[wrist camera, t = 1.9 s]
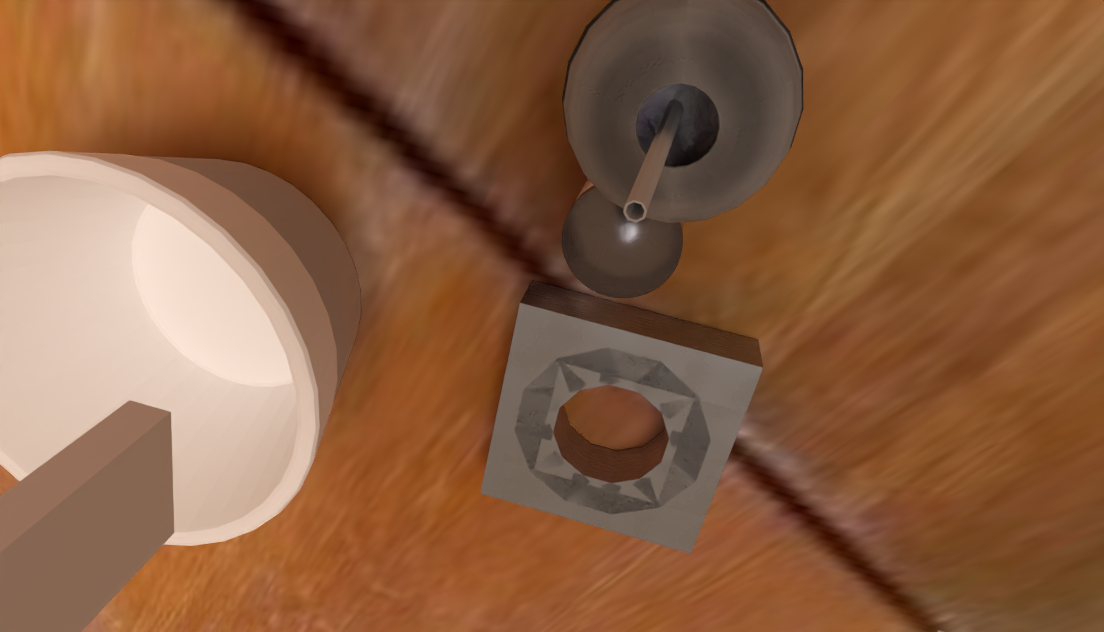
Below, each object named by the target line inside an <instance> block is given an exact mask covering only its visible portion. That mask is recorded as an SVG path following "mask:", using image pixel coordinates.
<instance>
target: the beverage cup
mask: <svg viewBox="0 0 1104 632" xmlns="http://www.w3.org/2000/svg"><path fill="white" fill-rule="evenodd" d="M562 103H563V110H564V118H565V126H566V133H567V137H568V141H569V143H570V145H571V147H572V149H573V152H574V154H575V156H576V158H577V160H578V162H579V165H580V167H581V169H582V171H583V173H584V175H585V176H586V177H587V178H588V179H589V180H590V181H591V182H592V183H593V184H594V186H595V187H596V188H597V189H598V190H599V191H600V192H601V193H602V194H603V195H604V196H605V198H606V199H608V200H609V201H611V202H613V203H615V204H616V205H618V206H620V207H622V208H623V209H624V211H623V213H624V215H625V216H626V218H627V220H629V221H633V222H636V223H637V222H639V221H641V220H643V219H645V218H648V219H653V220H658V221H662V222H667V223H676V222H688V221H700V220H706V219H708V218H711V217H713V216H716V215H718V214H721V213H723V212H726V211H728V210H731V209H733V208H736V207H738V206H739V205H740V204H741V203H743V202H744V201H745V200H746V199H748V198H749V197H750V196H751V195H753V194H754V193H755V192H757V191H758V190H759V189H760V188H762V187H763V186H764V185H765V184H766V183H767V182H768V180H769V179H770V177H771V176H772V174H773V173H774V172H775V170H776V169H777V167H778V166H779V164H780V163H781V161H782V160H783V159H784V157H785V156H786V154H787V153H788V151H789V149H790V148H791V146H792V143H793V140H794V136H795V133H796V130H797V127H798V124H799V121H800V117H801V114H802V111H803V68H802V65H801V62H800V59H799V56H798V53H797V51H796V48H795V45H794V42H793V39H792V36H791V33H790V31H789V30H788V28H787V27H786V26H785V25H784V24H783V22H782V21H781V20H780V19H779V17H778V16H777V15H776V14H775V12H774V11H773V10H772V9H771V7H770V6H769V5H768V4H767V2H766V1H765V0H612V1H611V2H610V3H609V4H608V5H607V6H606V7H605V8H604V9H603V10H602V11H601V12H600V13H599V14H598V15H597V16H596V17H595V18H594V19H593V20H592V21H591V22H590V23H589V24H588V25H587V26H586V28H585V30H584V32H583V34H582V36H581V38H580V40H579V42H578V44H577V46H576V48H575V50H574V52H573V54H572V55H571V57H570V59H569V62H568V67H567V73H566V79H565V85H564V91H563V96H562Z"/></svg>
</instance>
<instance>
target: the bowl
mask: <svg viewBox="0 0 1104 632" xmlns="http://www.w3.org/2000/svg"><path fill="white" fill-rule="evenodd" d="M360 317H361V291H360V287H359V282H358V277H357V273H356V268H355V266H354V263H353V261H352V259H351V256H350V254H349V251H348V249H347V247H346V244H345V243H344V241H343V240H342V238H341V236H340V235H339V233H338V232H337V230H336V229H335V227H334V225H333V224H332V222H331V221H330V220H329V219H328V218H327V217H326V216H325V214H324V213H323V212H322V211H321V210H320V209H319V208H318V207H317V205H316V204H315V203H314V202H313V201H312V200H310V199H309V198H308V197H307V196H305V195H304V194H303V193H302V192H301V191H299V190H298V189H297V188H296V187H294V186H293V185H292V184H290V183H288V182H286V181H285V180H283V179H281V178H279V177H278V176H276V175H274V174H272V173H270V172H269V171H266V170H263V169H260V168H257V167H254V166H252V165H249V164H246V163H241V162H234V161H227V160H220V159H203V158H180V157H157V156H134V155H127V154H110V153H88V152H65V151H41V152H28V153H15V154H8V155H5V156H2V157H0V464H1V465H2V466H3V467H4V468H5V469H6V470H7V471H8V472H10V473H11V474H12V475H13V476H14V477H15V478H16V479H17V480H19V481H21V480H22V479H24V478H25V477H26V476H28V475H29V474H30V473H32V472H33V471H34V470H36V469H37V468H38V467H40V466H41V465H43V464H44V463H45V462H47V461H48V460H49V459H51V458H52V457H53V456H55V455H56V454H57V453H59V452H60V451H61V450H63V449H64V448H65V447H67V446H68V445H70V444H71V443H72V442H74V441H75V440H76V439H78V438H79V437H80V436H82V435H83V434H84V433H86V432H87V431H88V430H90V429H91V428H92V427H94V426H95V425H96V424H98V423H99V422H101V421H102V420H103V419H105V418H106V417H107V416H109V415H110V414H111V413H113V412H114V411H115V410H117V409H118V408H119V407H121V406H122V405H123V404H125V403H126V402H128V401H129V400H131V401H135V402H138V403H142V404H145V405H149V406H152V407H156V408H159V409H163V410H166V411H170V412H171V428H172V464H173V499H174V534H173V535H172V536H171V537H170V538H169V539H168V540H167V541H166V542H165V543H164V544H169V545H189V546H193V545H200V544H207V543H215V542H222V541H226V540H228V539H231V538H234V537H237V536H239V535H242V534H245V533H248V532H250V531H253V530H255V529H257V528H258V527H260V526H261V525H263V524H264V523H265V522H267V521H268V520H270V519H271V518H273V517H274V516H276V515H277V514H279V513H280V512H281V511H282V510H283V509H284V508H285V507H286V505H287V504H288V503H289V502H290V501H291V500H292V498H293V497H294V496H295V495H296V494H297V493H298V491H299V490H300V489H301V487H302V484H303V482H304V480H305V478H306V476H307V474H308V472H309V470H310V467H311V465H312V463H313V461H314V458H315V455H316V453H317V450H318V447H319V444H320V441H321V438H322V435H323V433H324V430H325V427H326V424H327V421H328V418H329V416H330V413H331V410H332V406H333V402H334V399H335V396H336V393H337V390H338V387H339V385H340V382H341V379H342V376H343V373H344V370H345V367H346V365H347V362H348V359H349V356H350V353H351V350H352V348H353V345H354V342H355V339H356V336H357V332H358V327H359V322H360Z"/></svg>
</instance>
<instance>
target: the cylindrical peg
mask: <svg viewBox="0 0 1104 632" xmlns="http://www.w3.org/2000/svg"><path fill="white" fill-rule="evenodd" d="M623 211H624V209H623V208H622V207H620V206H618V205H616V204H615V203H613V202H611V201H609V200H608V199H606V198H605V196H604V195H603V194H602V193H601V192H600V191H599V190H598V189H597V188H596V187H595V186H594V184H593V183H592V182H591V181H590V180H589V179H587V180H586V182H585V184H584V186H583V188H582V190H581V192H580V194H579V195H578V197H577V199H576V201H575V203H574V204H573V206H572V207H571V209H570V211H569V213H568V215H567V217H566V220H565V223H564V226H563V231H562V248H563V253H564V257H565V259H566V262H567V264H568V266H569V268H570V269H571V271H572V272H573V274H574V275H575V276H576V277H577V278H578V279H579V280H580V281H581V282H582V283H583V284H584V285H585V286H587V287H588V288H590V289H591V290H593V291H595V292H597V293H600V294H602V295H606V296H610V297H614V298H631V297H637V296H641V295H644V294H647V293H649V292H651V291H653V290H655V289H656V288H658V287H659V286H661V285H662V284H663V283H664V282H665V281H666V280H667V279H668V278H669V277H670V276H671V274H672V273H673V272H674V270H675V268H676V266H677V265H678V262H679V259H680V256H681V252H682V243H683V222H676V223H667V222H662V221H658V220H653V219H648V218H645V219H643V220H641V221H639V222H637V223H636V222H633V221H629V220H627V218H626V216H625V215H624V213H623Z"/></svg>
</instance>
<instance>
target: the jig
mask: <svg viewBox="0 0 1104 632" xmlns="http://www.w3.org/2000/svg"><path fill="white" fill-rule="evenodd" d="M762 370H763V364H762V358H761V353H760V347H759V342H758V340H756V339H752V338H749V337H745V336H741V335H737V334H734V333H730V332H726V331H722V330H718V329H715V328H711V327H707V326H703V325H699V324H696V323H692V322H688V321H684V320H681V319H677V318H673V317H669V316H665V315H662V314H658V313H654V312H650V311H647V310H643V309H639V308H635V307H631V306H628V305H624V304H620V303H616V302H612V301H609V300H605V299H601V298H597V297H594V296H590V295H586V294H582V293H578V292H575V291H571V290H567V289H563V288H560V287H556V286H552V285H548V284H544V283H541V282H537V281H533V280H532V281H531V283H530V285H529V287H528V289H527V291H526V292H525V294H524V296H523V298H522V300H521V302H520V305H519V310H518V314H517V319H516V324H515V329H514V334H513V338H512V343H511V348H510V353H509V358H508V362H507V367H506V372H505V377H504V382H503V386H502V391H501V396H500V401H499V406H498V410H497V415H496V420H495V425H494V430H493V434H492V439H491V444H490V449H489V454H488V458H487V463H486V468H485V473H484V478H483V482H482V487H481V492H480V493H481V494H485V495H488V496H492V497H495V498H499V499H502V500H506V501H509V502H513V503H516V504H520V505H523V506H527V507H530V508H534V509H537V510H541V511H544V512H548V513H551V514H555V515H558V516H562V517H565V518H569V519H572V520H576V521H579V522H583V523H586V524H590V525H593V526H597V527H600V528H603V529H607V530H610V531H614V532H617V533H621V534H624V535H628V536H631V537H635V538H638V539H642V540H645V541H649V542H652V543H656V544H659V545H663V546H666V547H670V548H673V549H677V550H680V551H684V552H687V553H691V551H692V549H693V546H694V544H695V541H696V539H697V536H698V534H699V531H700V528H701V526H702V523H703V521H704V518H705V516H706V513H707V511H708V508H709V505H710V503H711V500H712V498H713V495H714V493H715V490H716V487H717V485H718V482H719V480H720V477H721V475H722V472H723V470H724V467H725V464H726V462H727V459H728V457H729V454H730V452H731V449H732V446H733V444H734V441H735V439H736V436H737V434H738V431H739V429H740V426H741V423H742V421H743V418H744V416H745V413H746V411H747V408H748V405H749V403H750V400H751V398H752V395H753V393H754V390H755V388H756V385H757V382H758V380H759V377H760V375H761V372H762ZM604 385H612V386H616V387H620V388H623V389H627V390H631V391H634V392H638V393H640V394H641V395H642V396H643V397H645V398H646V399H647V400H648V401H649V402H650V403H651V404H652V405H653V406H655V407H656V408H657V409H658V410H659V411H660V412H661V413H662V416H663V419H664V423H665V427H664V430H663V431H662V432H661V433H660V434H658V435H657V436H656V437H655V438H653V439H652V440H651V441H650V442H648V443H647V444H646V445H644V446H643V447H637V448H631V449H625V450H619V451H615V450H612V449H608V448H604V447H601V446H597V445H594V444H590V443H589V442H588V441H587V440H586V439H585V438H583V437H582V436H581V435H580V434H579V433H578V432H577V431H575V430H574V429H573V428H572V427H571V426H570V424H569V421H568V418H567V415H566V412H565V409H564V407H563V404H565V403H566V402H567V401H568V400H569V399H570V398H571V397H573V396H574V395H575V394H576V393H577V392H578V391H579V390H584V389H589V388H594V387H599V386H604Z"/></svg>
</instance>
